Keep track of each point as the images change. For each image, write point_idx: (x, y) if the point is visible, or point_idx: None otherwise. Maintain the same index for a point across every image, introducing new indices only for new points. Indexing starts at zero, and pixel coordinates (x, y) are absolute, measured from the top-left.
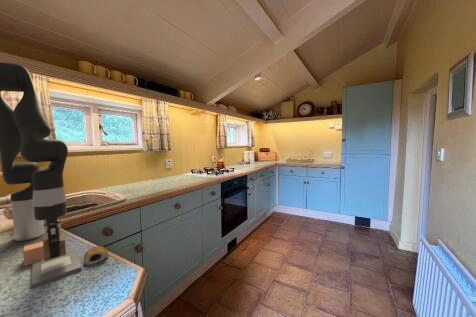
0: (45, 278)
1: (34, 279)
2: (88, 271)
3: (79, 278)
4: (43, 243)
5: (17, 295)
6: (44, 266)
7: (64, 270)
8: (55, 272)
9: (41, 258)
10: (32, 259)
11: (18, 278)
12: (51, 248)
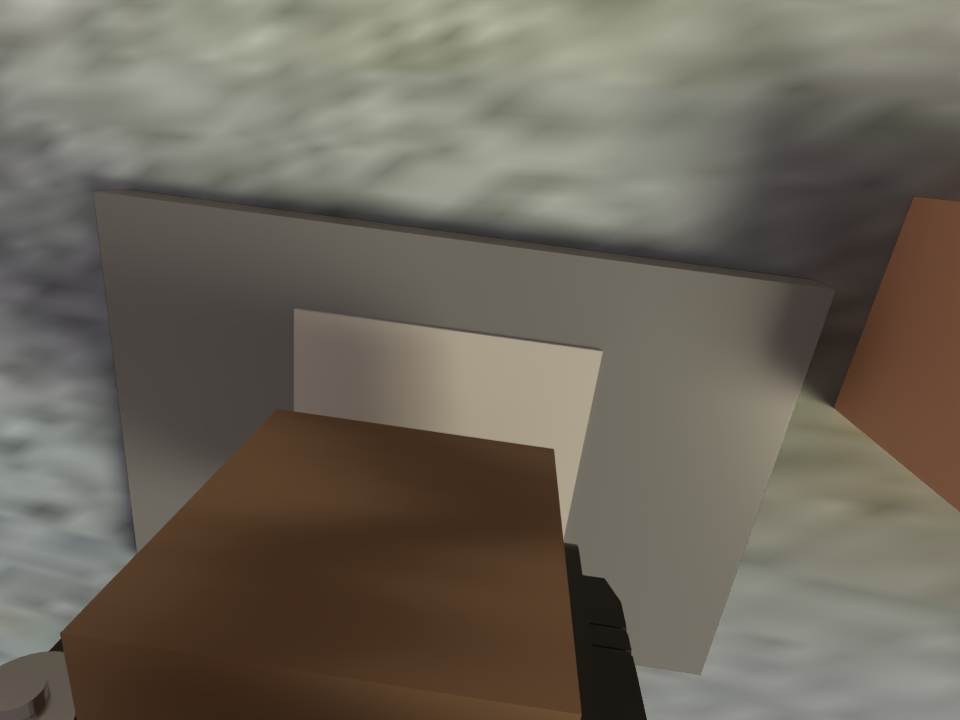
0: (135, 320)
1: (205, 234)
2: (83, 585)
3: (3, 511)
4: (234, 670)
5: (61, 62)
6: (486, 366)
7: (179, 478)
8: (208, 414)
9: (867, 383)
10: (918, 297)
11: (530, 100)
12: (53, 648)
